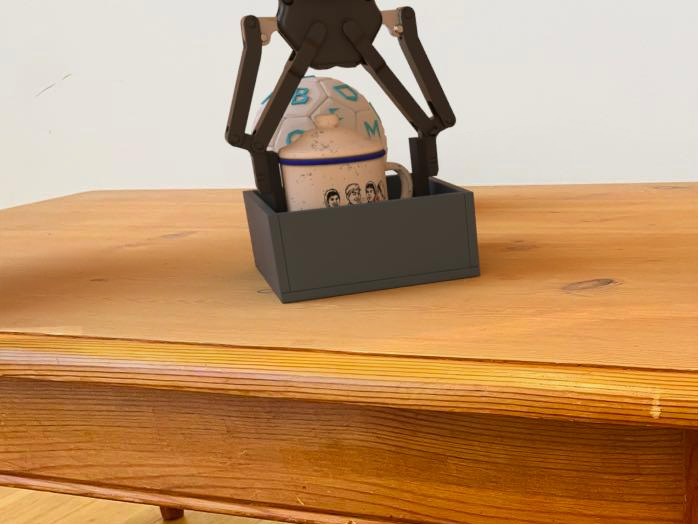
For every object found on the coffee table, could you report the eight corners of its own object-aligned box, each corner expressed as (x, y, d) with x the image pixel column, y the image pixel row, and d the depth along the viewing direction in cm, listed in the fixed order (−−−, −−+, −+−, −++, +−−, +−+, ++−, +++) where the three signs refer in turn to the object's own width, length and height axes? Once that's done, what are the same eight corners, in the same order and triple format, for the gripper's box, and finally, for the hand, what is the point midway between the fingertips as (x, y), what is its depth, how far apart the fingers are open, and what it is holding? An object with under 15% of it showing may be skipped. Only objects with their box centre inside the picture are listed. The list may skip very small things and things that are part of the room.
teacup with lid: (322, 274, 88) (301, 121, 83) (273, 259, 94) (251, 117, 89) (444, 250, 94) (432, 107, 89) (391, 238, 101) (376, 104, 96)
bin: (282, 303, 85) (267, 215, 82) (255, 267, 99) (242, 190, 96) (480, 275, 90) (473, 191, 87) (428, 244, 104) (420, 171, 101)
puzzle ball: (407, 204, 129) (392, 68, 122) (378, 227, 115) (359, 75, 109) (285, 210, 130) (264, 76, 124) (242, 233, 117) (216, 84, 110)
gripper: (160, -60, 77) (217, 248, 86) (480, -71, 84) (499, 215, 93) (155, -53, 83) (208, 234, 93) (453, -63, 90) (473, 204, 100)
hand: (354, 225), depth 93 cm, fingers closed on teacup with lid, 12 cm apart
